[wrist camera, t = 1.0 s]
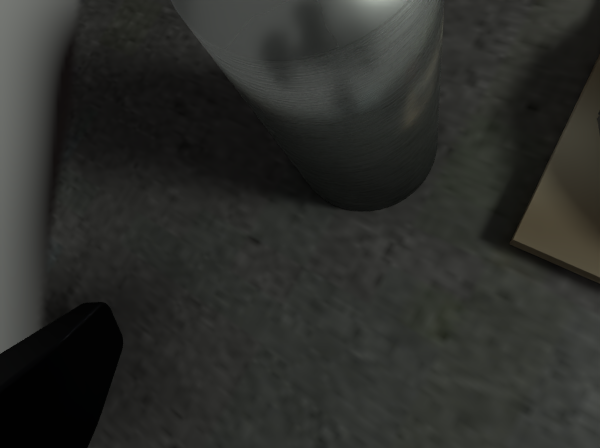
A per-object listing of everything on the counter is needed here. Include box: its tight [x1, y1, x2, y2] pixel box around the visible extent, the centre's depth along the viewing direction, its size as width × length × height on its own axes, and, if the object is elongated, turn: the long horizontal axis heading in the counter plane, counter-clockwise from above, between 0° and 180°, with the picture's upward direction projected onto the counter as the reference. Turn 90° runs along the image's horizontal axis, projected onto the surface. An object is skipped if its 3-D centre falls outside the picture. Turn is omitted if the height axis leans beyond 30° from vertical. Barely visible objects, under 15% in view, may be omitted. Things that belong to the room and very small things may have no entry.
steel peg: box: [171, 0, 444, 211], centre depth 17 cm, size 6×6×13 cm
